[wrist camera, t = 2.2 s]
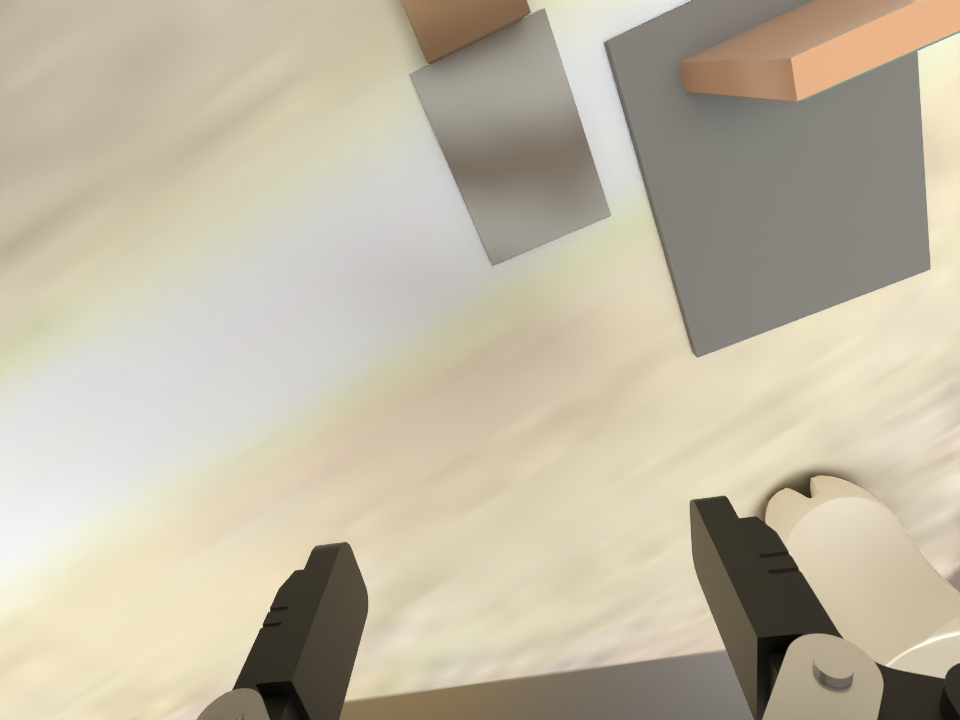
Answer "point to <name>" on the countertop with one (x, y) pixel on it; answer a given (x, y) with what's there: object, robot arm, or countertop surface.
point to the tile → (818, 47)
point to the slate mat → (771, 179)
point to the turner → (506, 121)
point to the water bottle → (870, 575)
